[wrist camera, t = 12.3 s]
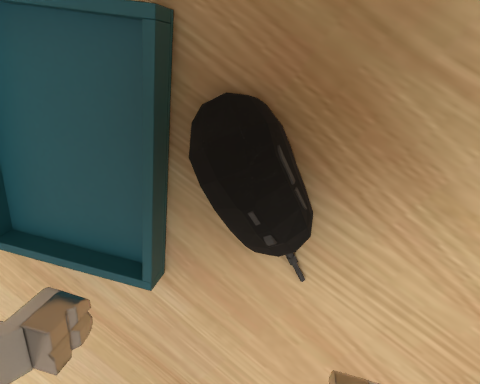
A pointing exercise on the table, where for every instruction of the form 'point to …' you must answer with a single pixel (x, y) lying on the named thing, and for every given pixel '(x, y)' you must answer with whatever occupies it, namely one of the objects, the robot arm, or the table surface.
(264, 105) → the gaming mouse
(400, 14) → the table surface
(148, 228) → the tray
